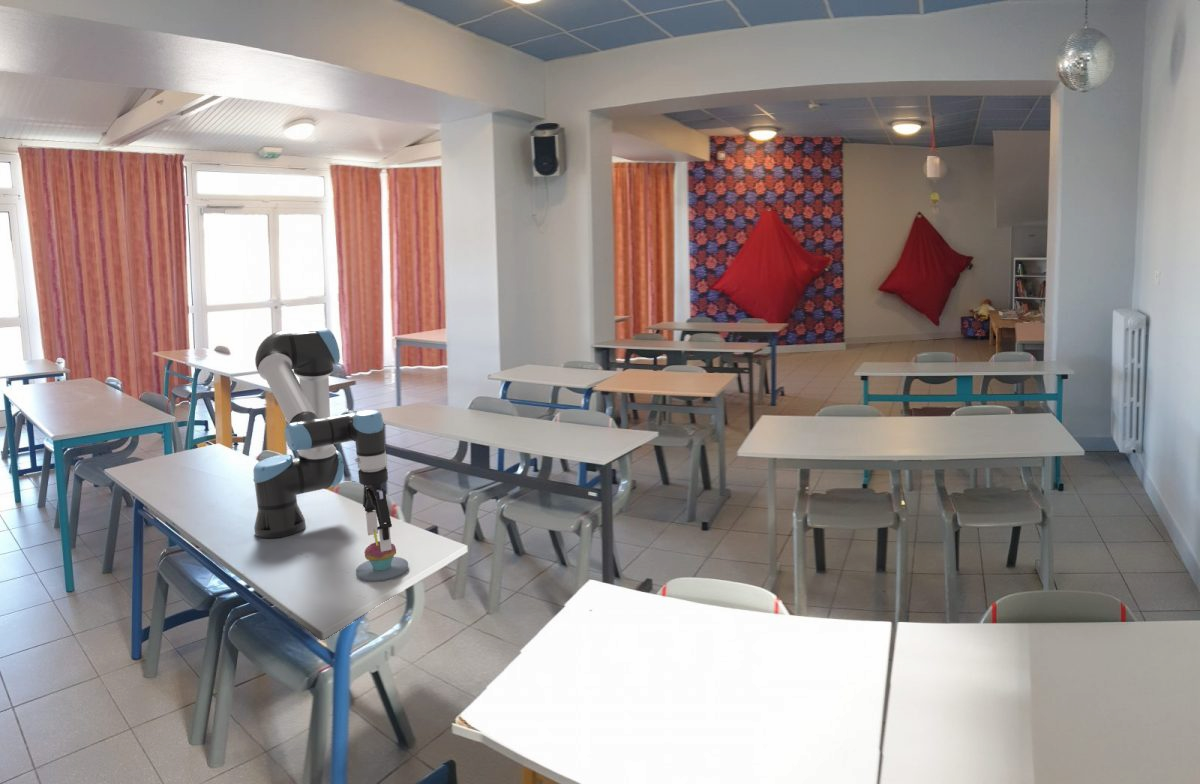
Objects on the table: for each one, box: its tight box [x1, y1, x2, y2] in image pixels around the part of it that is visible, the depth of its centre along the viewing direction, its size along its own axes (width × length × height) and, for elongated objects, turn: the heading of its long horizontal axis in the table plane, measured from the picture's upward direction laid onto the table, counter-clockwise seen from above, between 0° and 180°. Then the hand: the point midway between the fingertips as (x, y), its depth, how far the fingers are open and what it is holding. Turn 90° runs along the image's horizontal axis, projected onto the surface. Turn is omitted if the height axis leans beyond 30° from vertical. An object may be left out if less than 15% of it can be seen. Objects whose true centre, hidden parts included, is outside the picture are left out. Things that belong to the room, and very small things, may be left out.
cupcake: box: [364, 530, 397, 571], centre depth 219 cm, size 9×8×12 cm
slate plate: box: [355, 556, 409, 583], centre depth 221 cm, size 14×14×1 cm
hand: (379, 542), depth 219 cm, fingers open, 13 cm apart
